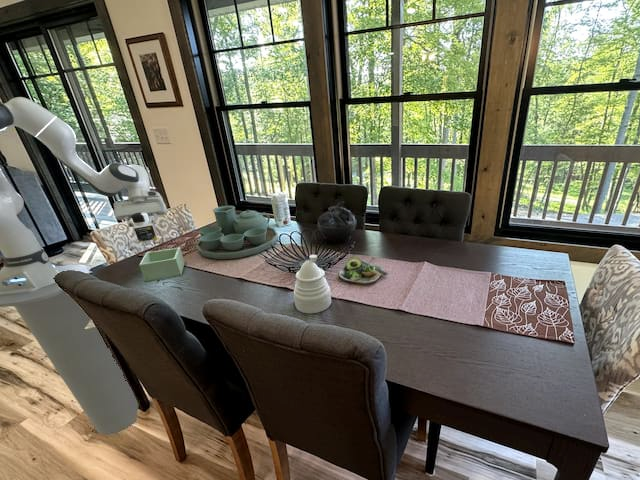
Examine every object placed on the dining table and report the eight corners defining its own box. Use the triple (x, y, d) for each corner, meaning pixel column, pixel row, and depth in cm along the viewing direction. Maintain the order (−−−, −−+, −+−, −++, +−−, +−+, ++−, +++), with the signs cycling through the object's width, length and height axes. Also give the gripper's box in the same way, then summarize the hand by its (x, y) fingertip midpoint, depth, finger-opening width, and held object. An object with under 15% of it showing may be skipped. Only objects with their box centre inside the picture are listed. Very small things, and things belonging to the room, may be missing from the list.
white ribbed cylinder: (292, 224, 189) (287, 193, 180) (278, 227, 185) (273, 195, 176) (287, 221, 195) (283, 191, 186) (274, 224, 191) (269, 193, 182)
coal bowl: (333, 250, 152) (330, 213, 143) (312, 239, 166) (308, 205, 157) (364, 239, 163) (363, 204, 154) (342, 230, 177) (340, 197, 168)
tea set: (180, 256, 153) (170, 224, 146) (233, 228, 187) (227, 201, 179) (248, 264, 142) (240, 230, 134) (292, 233, 175) (287, 204, 168)
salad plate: (393, 268, 133) (393, 259, 130) (379, 289, 118) (379, 278, 116) (352, 262, 140) (351, 253, 138) (334, 281, 125) (333, 271, 123)
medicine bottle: (139, 243, 139) (129, 217, 133) (138, 238, 144) (129, 213, 139) (157, 239, 142) (148, 213, 137) (156, 234, 148) (147, 210, 142)
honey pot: (323, 290, 119) (318, 246, 111) (337, 306, 109) (333, 260, 101) (290, 299, 114) (283, 255, 106) (302, 317, 104) (295, 269, 96)
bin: (145, 281, 131) (138, 265, 128) (152, 268, 143) (146, 252, 139) (181, 275, 135) (175, 258, 132) (184, 262, 147) (179, 247, 143)
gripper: (109, 197, 137) (111, 224, 134) (162, 191, 143) (165, 218, 140) (116, 204, 143) (118, 231, 139) (166, 199, 149) (170, 224, 145)
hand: (142, 224), depth 140 cm, fingers closed on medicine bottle, 7 cm apart
